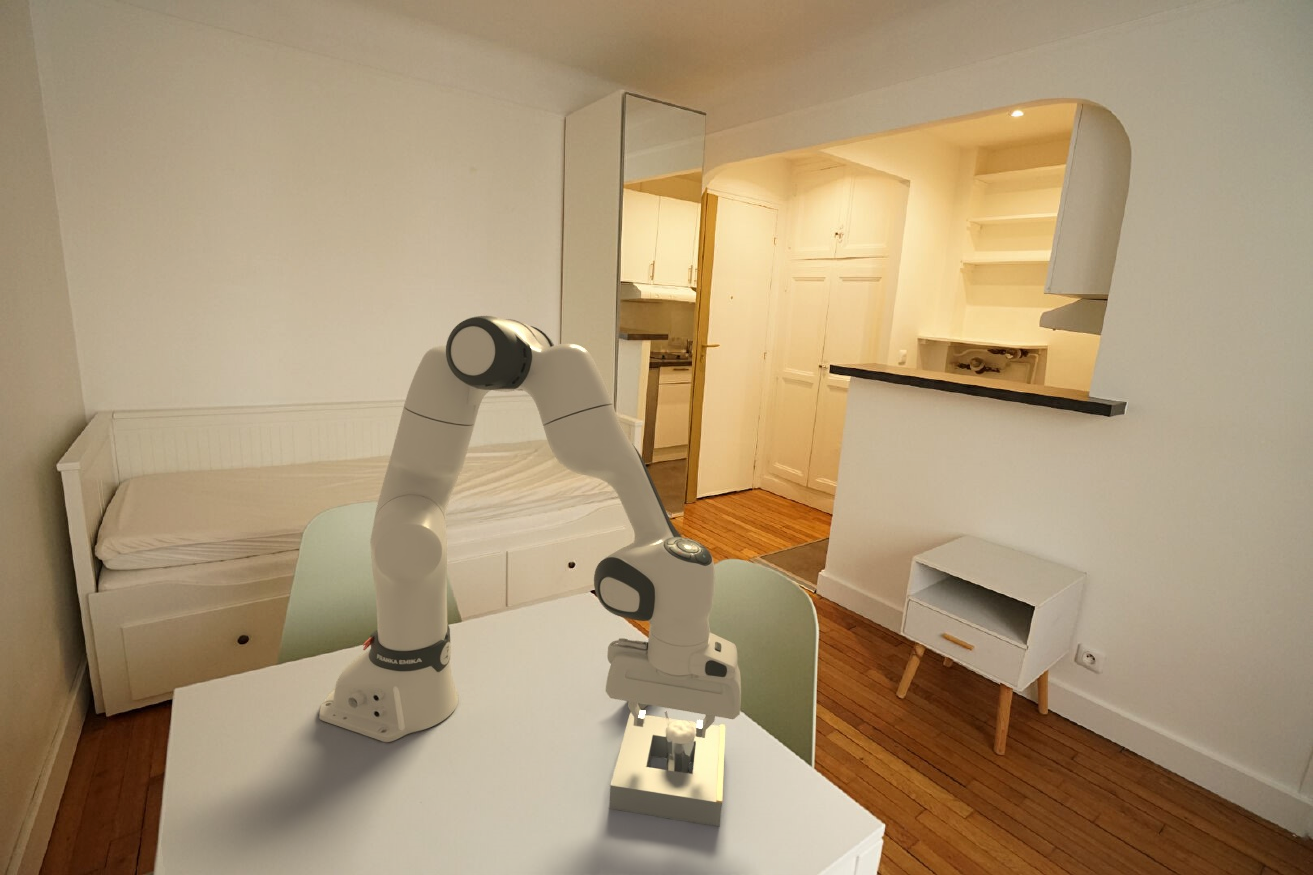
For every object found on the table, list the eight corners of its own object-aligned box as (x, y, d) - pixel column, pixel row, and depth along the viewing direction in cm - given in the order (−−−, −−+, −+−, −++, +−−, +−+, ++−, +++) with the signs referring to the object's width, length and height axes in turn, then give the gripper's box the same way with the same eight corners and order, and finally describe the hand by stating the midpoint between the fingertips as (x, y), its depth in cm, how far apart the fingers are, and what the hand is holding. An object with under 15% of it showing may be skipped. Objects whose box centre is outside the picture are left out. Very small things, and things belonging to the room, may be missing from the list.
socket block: (609, 808, 89) (610, 783, 88) (628, 733, 104) (630, 711, 103) (719, 826, 87) (722, 800, 86) (723, 747, 102) (725, 724, 101)
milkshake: (670, 758, 99) (674, 704, 97) (697, 776, 96) (702, 720, 93) (652, 774, 96) (656, 718, 93) (679, 792, 92) (684, 735, 90)
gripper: (603, 647, 88) (597, 731, 91) (746, 670, 86) (735, 755, 89) (613, 625, 94) (607, 704, 97) (746, 646, 92) (736, 727, 95)
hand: (669, 729), depth 93 cm, fingers open, 8 cm apart
